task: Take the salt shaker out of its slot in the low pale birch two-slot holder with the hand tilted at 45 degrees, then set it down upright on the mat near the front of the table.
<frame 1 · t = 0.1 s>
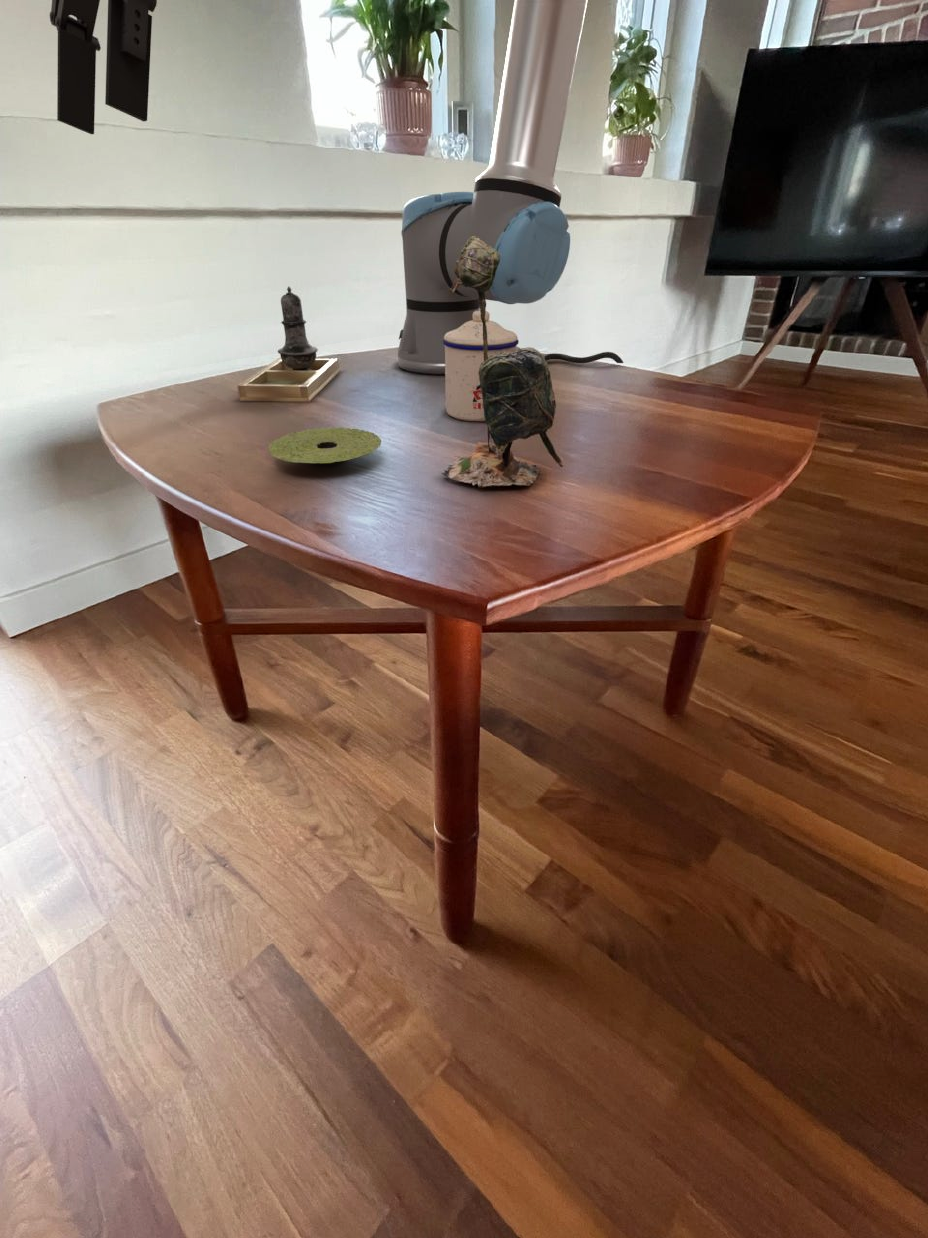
hand: (99, 121, 51), 28 cm above the table, tool tilted 20°, fingers open, 13 cm apart
salt shaker: (301, 376, 94), resting on rack
teacup with lid: (487, 412, 79), on the table
rack: (293, 385, 91), on the table
mat: (328, 463, 64), on the table
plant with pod: (501, 481, 59), on the table
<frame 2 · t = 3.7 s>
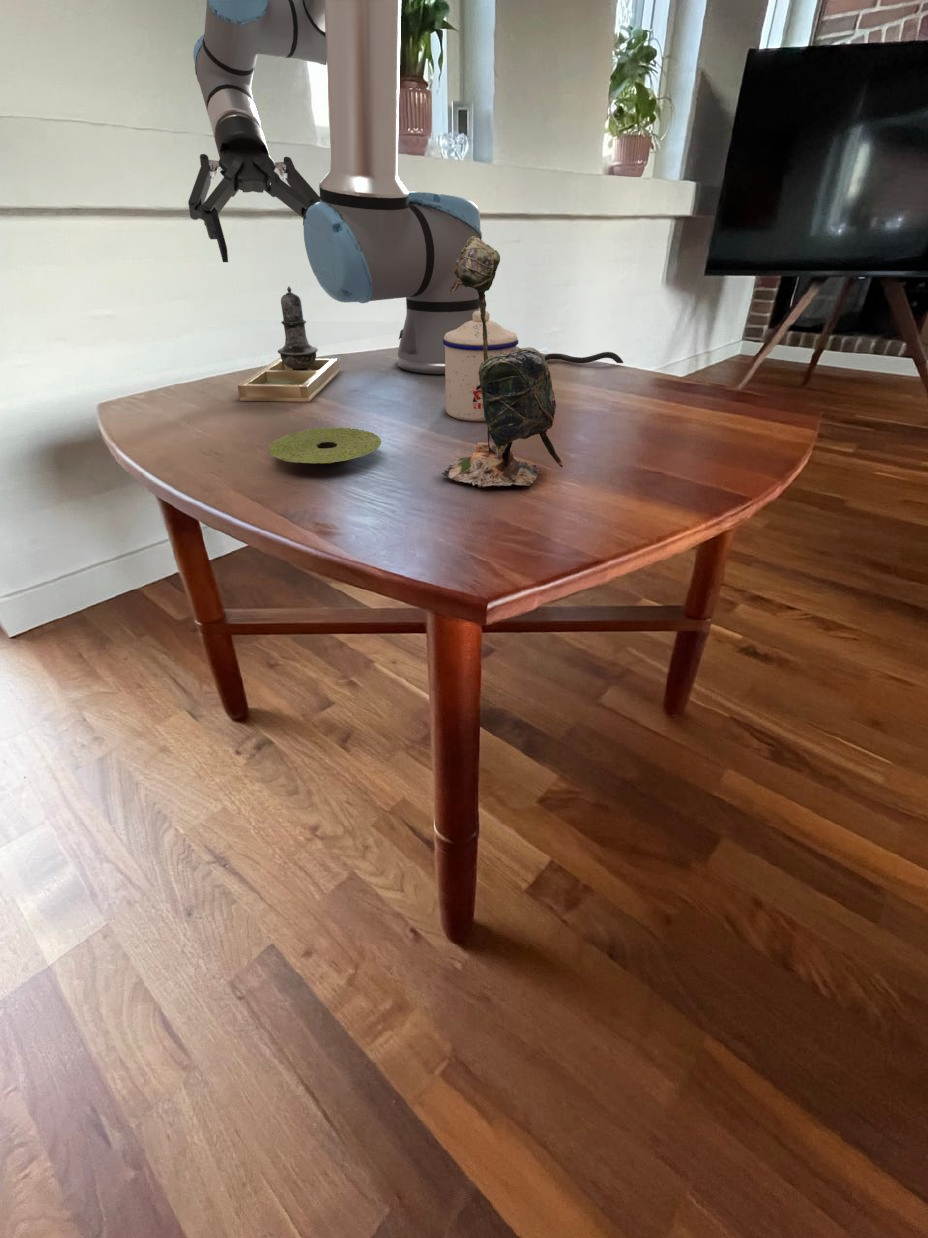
hand: (271, 254, 93), 16 cm above the table, tool tilted 45°, fingers open, 13 cm apart
nothing on the table moved.
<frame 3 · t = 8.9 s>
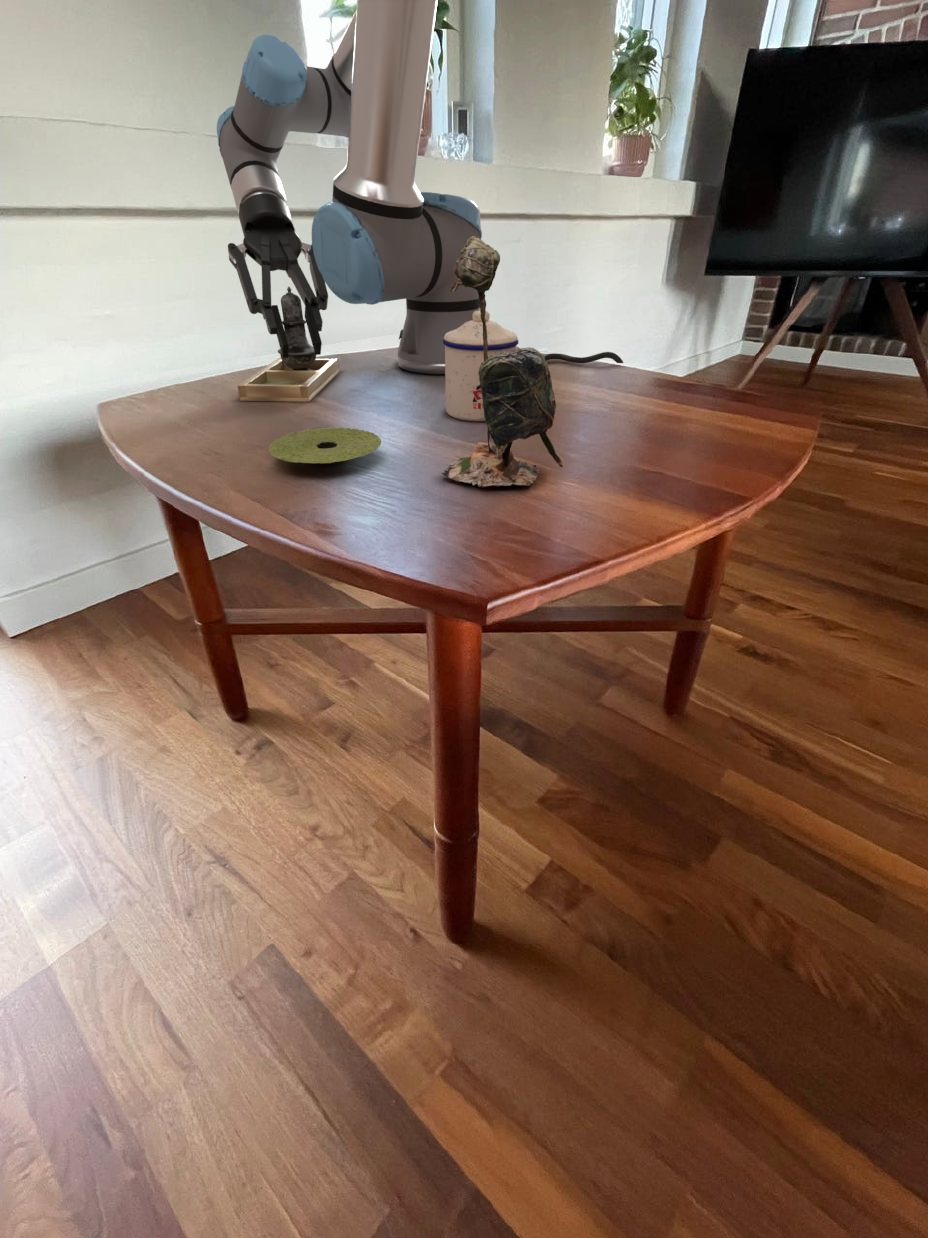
hand: (302, 349, 89), 5 cm above the table, tool tilted 45°, fingers closed on salt shaker, 4 cm apart
salt shaker: (301, 376, 94), resting on rack, touching gripper
everything else where it was.
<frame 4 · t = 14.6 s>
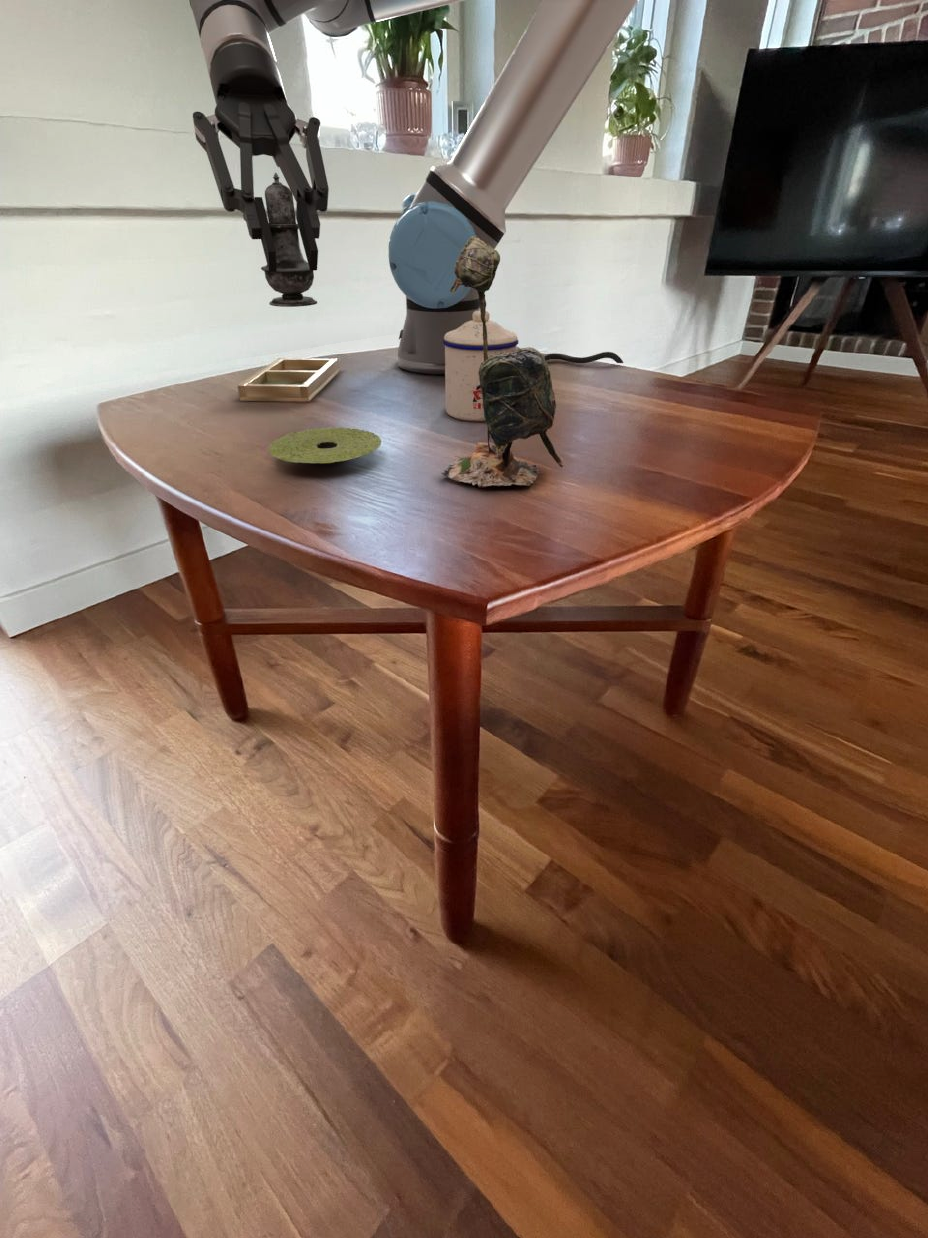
hand: (293, 260, 64), 17 cm above the table, tool tilted 45°, fingers closed on salt shaker, 4 cm apart
salt shaker: (293, 305, 70), point 13 cm above the table, touching gripper
everything else where it was.
when the fingers open (6 cm above the table, at t = 19.8 s): salt shaker stays where it is, resting on mat.
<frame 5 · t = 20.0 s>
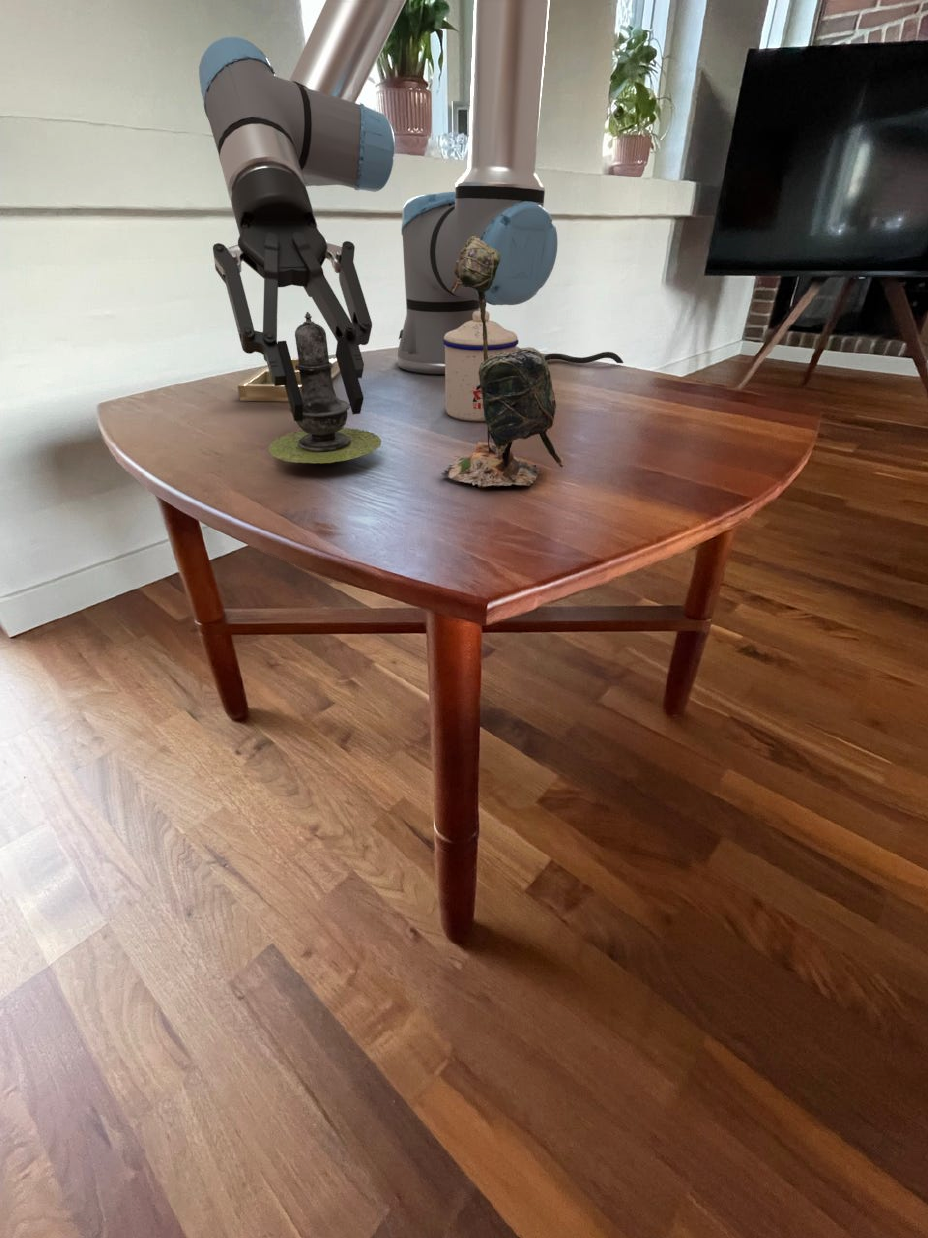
hand: (328, 409, 57), 6 cm above the table, tool tilted 45°, fingers open, 5 cm apart
salt shaker: (324, 444, 63), point 2 cm above the table, touching mat
mat: (328, 463, 64), on the table, touching salt shaker
everything else where it was.
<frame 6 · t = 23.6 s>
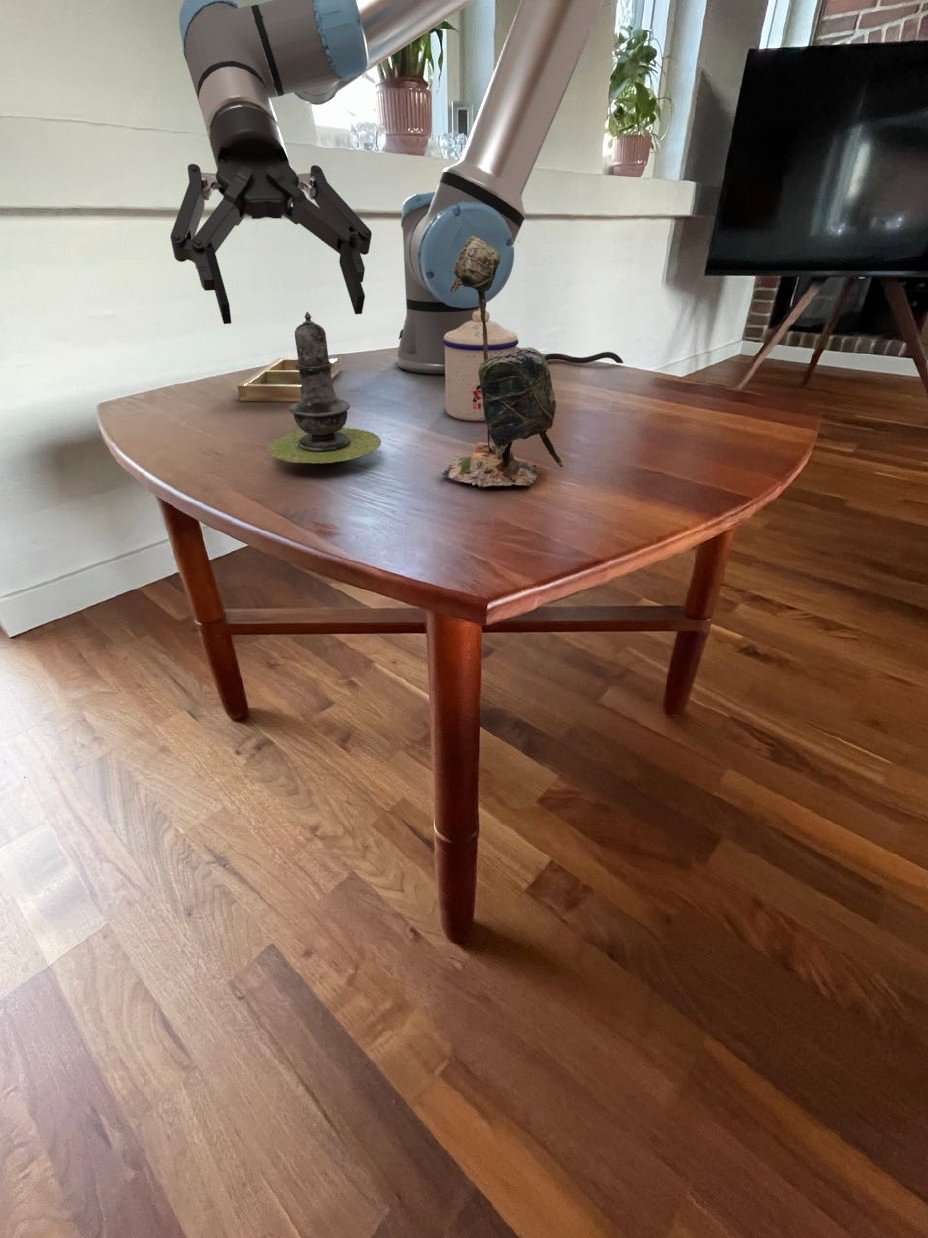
hand: (295, 310, 63), 13 cm above the table, tool tilted 45°, fingers open, 13 cm apart
nothing on the table moved.
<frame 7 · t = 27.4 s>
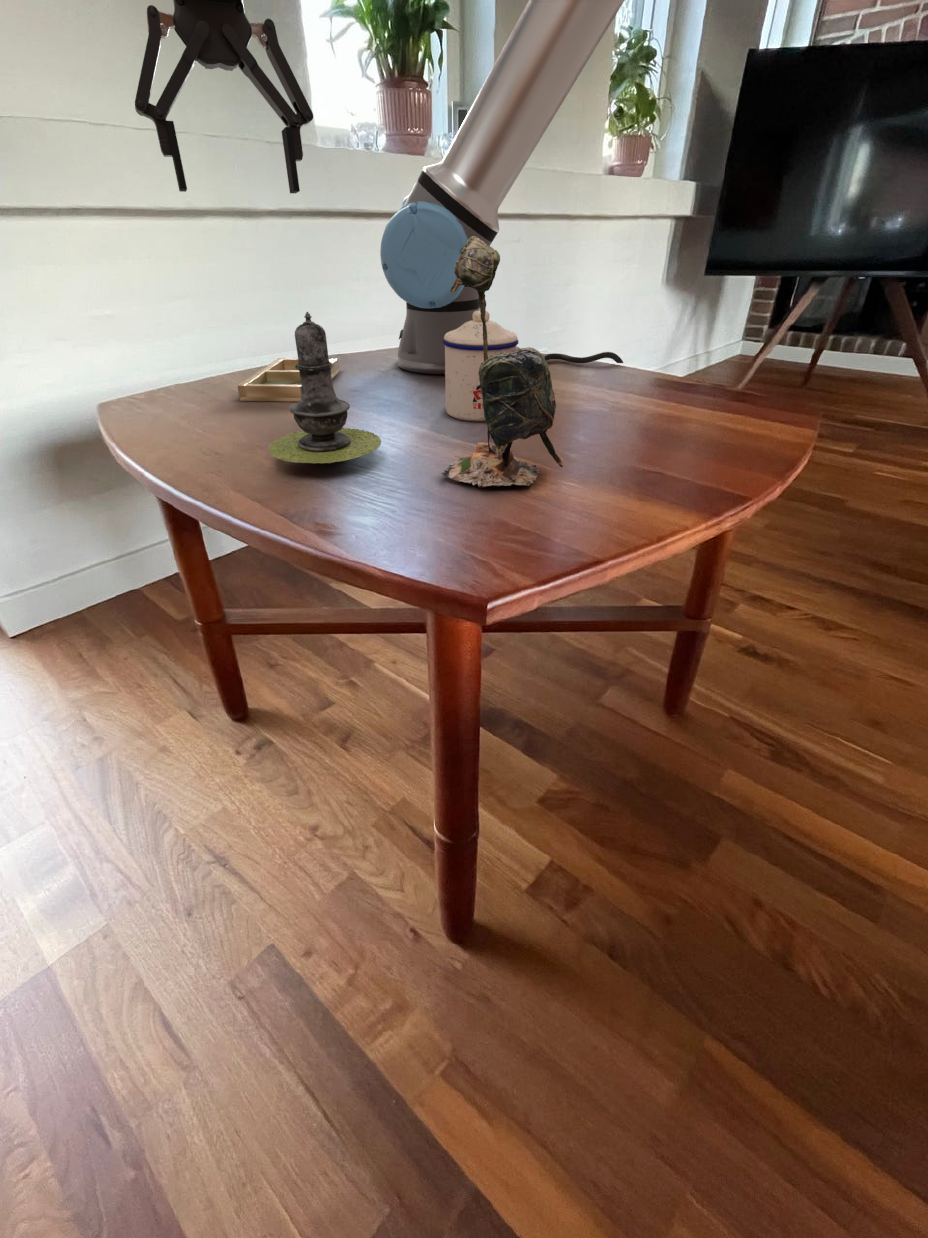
hand: (240, 191, 78), 23 cm above the table, tool pointing down, fingers open, 13 cm apart
nothing on the table moved.
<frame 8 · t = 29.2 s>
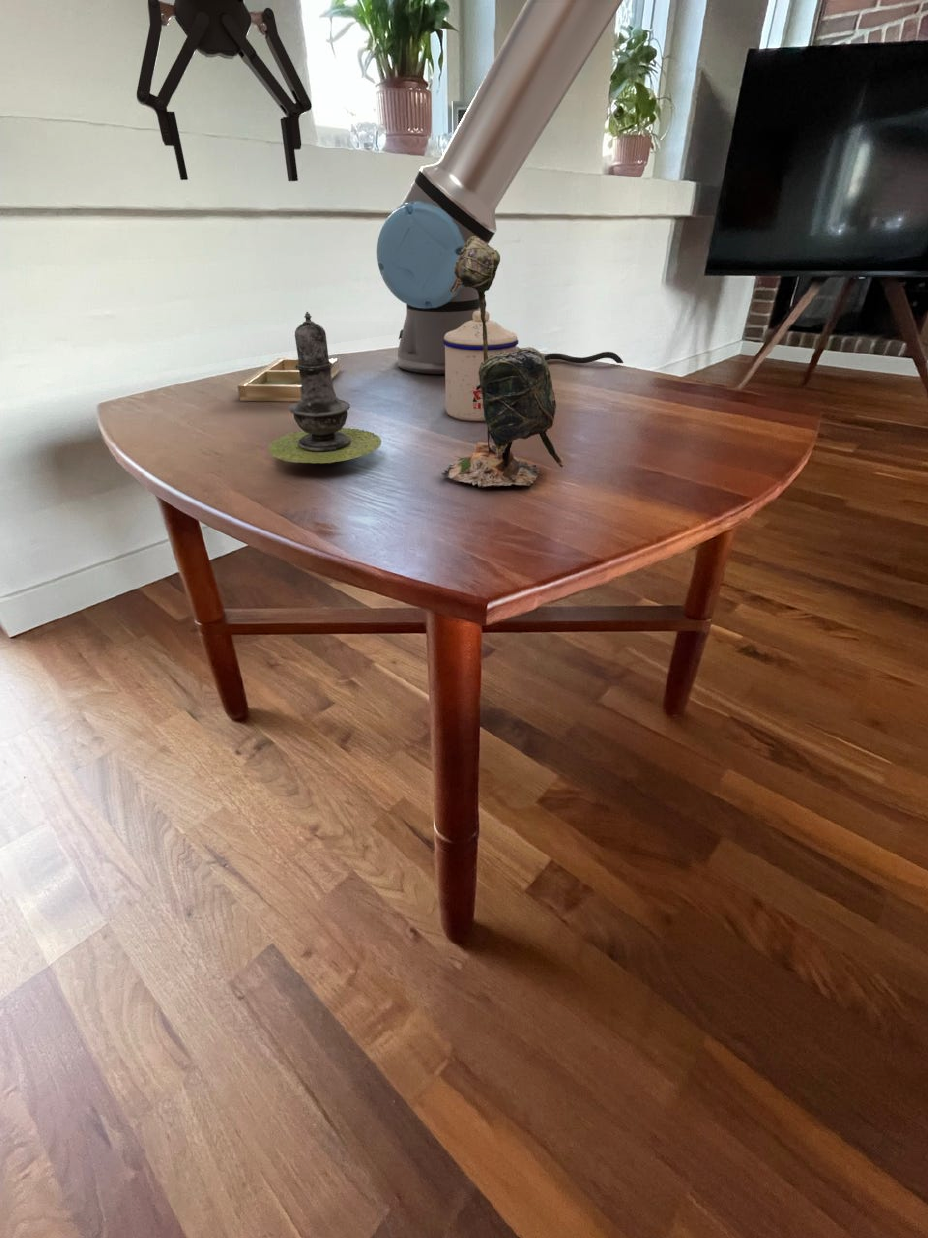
hand: (240, 180, 80), 25 cm above the table, tool pointing down, fingers open, 13 cm apart
nothing on the table moved.
at the end: salt shaker inside the target area on the mat (0.3 cm from its centre), point 2.0 cm above the mat's base; salt shaker tilted 0°; the gripper is holding nothing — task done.
